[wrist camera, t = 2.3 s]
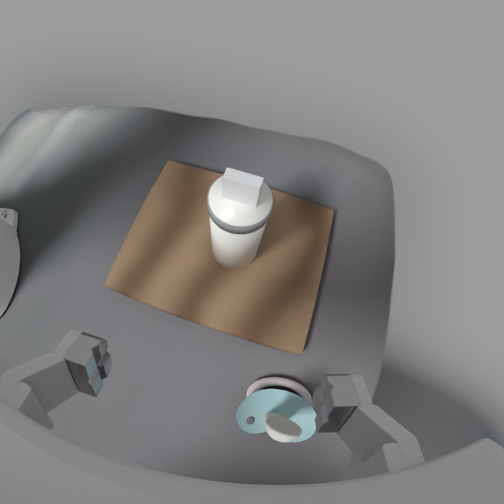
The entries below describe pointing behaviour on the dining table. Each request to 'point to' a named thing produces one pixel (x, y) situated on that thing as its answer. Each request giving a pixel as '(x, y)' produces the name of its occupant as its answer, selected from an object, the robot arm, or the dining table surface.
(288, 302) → the board
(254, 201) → the white bar-topped cylinder
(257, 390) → the pacifier
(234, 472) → the dining table surface
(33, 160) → the dining table surface
